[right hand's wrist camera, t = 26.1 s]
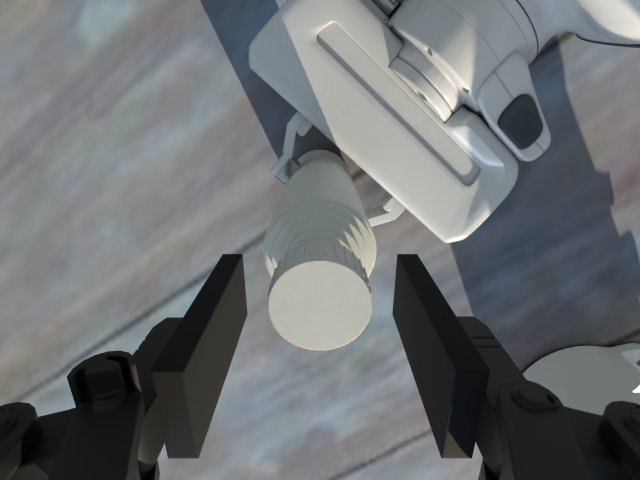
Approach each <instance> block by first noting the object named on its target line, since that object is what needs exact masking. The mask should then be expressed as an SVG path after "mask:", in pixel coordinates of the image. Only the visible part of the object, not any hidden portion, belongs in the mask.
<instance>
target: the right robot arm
mask: <svg viewBox="0 0 640 480" xmlns="http://www.w3.org/2000/svg"><path fill="white" fill-rule="evenodd" d="M246 317H247V303H246V291H245V279H244V268H243V256H242V254H223V255H222V257H221V258H220V260H219V262H218V263H217V265H216V266H215V268H214V270H213V271H212V273H211V274H210V276H209V277H208V279H207V281H206V282H205V284H204V285H203V287H202V289H201V290H200V292H199V293H198V295H197V297H196V298H195V300H194V301H193V303H192V304H191V306H190V308H189V309H188V311H187V312H186V314H185V316H184V317H183V318H166V319H164V320H163V321H161V322H160V323H158V324H157V325H156V326H154V327H153V328H152V330H151V331H150V332H149V334H148V335H147V336H146V338H145V340H144V341H143V342H142V343H141V345H140V346H139V349H138V350H136V351H135V353H134V354H133V356H132V355H131V354H130V353H128V352H123V351H109V352H105V353H101V354H97V355H95V356H92V357H90V358H88V359H86V360H84V361H82V362H81V363H80V364H78V365H77V366H76V367H74V368H73V369H72V371H71V372H70V373H69V375H68V376H67V379H68V382H69V385H70V389H71V392H72V395H73V398H74V401H75V404H76V408H73V409H70V410H66V411H61V412H57V413H53V414H49V415H44V416H40V417H38V415H37V413H36V410H35V408H34V407H33V406H32V405H30V404H29V403H22V402H17V403H11V404H5V405H2V406H0V480H159V475H160V472H159V465H158V461H157V458H158V456H159V454H160V452H161V450H162V447H163V445H164V443H165V446H166V450H167V455H168V458H199V455H200V452H201V449H202V446H203V443H204V440H205V437H206V434H207V432H208V429H209V426H210V423H211V420H212V417H213V414H214V411H215V408H216V405H217V402H218V399H219V396H220V393H221V390H222V387H223V384H224V381H225V379H226V376H227V373H228V370H229V367H230V364H231V361H232V358H233V355H234V352H235V349H236V346H237V343H238V340H239V337H240V334H241V331H242V328H243V326H244V323H245V320H246ZM393 317H394V320H395V323H396V326H397V328H398V331H399V334H400V337H401V340H402V343H403V346H404V349H405V352H406V355H407V358H408V361H409V364H410V367H411V370H412V373H413V376H414V379H415V381H416V384H417V387H418V390H419V393H420V396H421V399H422V402H423V405H424V408H425V411H426V414H427V417H428V420H429V423H430V426H431V429H432V432H433V434H434V437H435V440H436V443H437V446H438V449H439V452H440V455H441V458H472V455H473V450H474V446H475V441H476V443H477V446H478V448H479V450H480V452H481V454H482V456H483V461H482V465H481V470H480V474H479V479H478V480H640V404H637V403H633V402H627V401H614V402H611V403H609V404H608V405H607V406H606V407H605V410H604V413H603V415H598V414H594V413H589V412H585V411H581V410H577V409H572V408H569V407H566V406H563V404H562V402H561V401H560V399H559V398H558V397H557V396H556V395H555V394H554V393H552V392H551V391H550V390H549V389H547V388H545V387H543V386H542V385H540V384H538V383H535V382H532V381H529V380H526V378H525V377H524V376H523V374H522V373H521V371H520V370H519V369H518V367H517V366H516V365H515V363H514V362H513V361H512V359H511V358H510V357H509V355H508V354H507V353H506V351H505V350H504V348H502V346H501V344H500V343H499V342H498V340H497V339H495V336H494V335H493V334H492V332H491V331H490V330H489V328H488V327H487V326H486V325H485V324H483V323H482V322H480V321H479V320H478V319H476V318H475V317H456V316H455V314H454V312H453V311H452V309H451V308H450V306H449V304H448V303H447V301H446V300H445V298H444V297H443V295H442V293H441V292H440V290H439V289H438V287H437V285H436V284H435V282H434V281H433V279H432V277H431V276H430V274H429V273H428V271H427V270H426V268H425V266H424V265H423V263H422V262H421V260H420V258H419V257H418V255H417V254H398V256H397V268H396V279H395V291H394V303H393Z"/></svg>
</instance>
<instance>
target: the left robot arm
mask: <svg viewBox="0 0 640 480" xmlns="http://www.w3.org/2000/svg"><path fill="white" fill-rule="evenodd" d="M388 16H389V20H388V21H387V22H386V23H385V24H384V22H385V21H386V19H387V18H388ZM565 31H569V32H574V33H575V34H576V36H577V37H578V38H580V39H582V40H585V41H588V42H593V43H599V44H606V45H613V46H623V47H633V48H640V0H404V1H403V2H401V3H400V2H399V1H398V0H287V1H286V3H285V4H284V5H283V6H282V7H281V8H280V9H279V10H278V11H277V12H276V13H275V14H274V15H273V16H272V17H271V19H270V20H269V21H268V22H267V23H266V24H265V25H264V27H263V28H262V29H261V30H260V32H259V33H258V34H257V35H256V37H255V38H254V39H253V41H252V42H251V44H250V46H249V65H250V68H251V69H252V70H253V71H254V72H255V73H256V74H257V75H259V76H260V77H261V78H262V79H263V80H264V81H265V82H266V83H267V84H269V85H270V86H271V87H272V88H273V89H274V90H275V91H276V92H277V93H279V94H280V95H281V96H282V97H283V98H284V99H285V100H286V101H287V102H289V103H290V104H291V105H292V106H293V107H294V108H295V109H296V110H297V112H296V114H295V115H294V116H293V117H292V119H291V120H290V121H289V122H288V124H287V128H286V134H285V141H284V148H283V153H284V154H283V155H282V156H281V157H280V159H279V160H278V161H277V162H276V164H275V165H274V166H273V167H272V169H271V170H270V173H271V174H273V175H274V176H275V177H276V178H278V179H279V180H280V181H281V182H283V183H284V184H286V183H287V182H288V180H289V179H290V177H291V175H292V174H294V173H295V172H296V171H297V170H298V168H299V167H300V164H301V163H300V162H299V161H298V160H297V159H295V158H294V157H293V153H294V147H295V141H296V135H297V133H298V134H299V135H300V136H304V135H305V134H306V133H307V132H308V130H309V129H310V128H311V127H312V126H313V125H314V126H315V127H316V128H318V129H319V130H320V131H321V132H322V133H323V134H324V135H325V136H326V137H328V138H329V139H330V140H331V141H332V142H333V143H334V144H335V145H336V146H338V147H339V148H340V149H341V150H342V151H343V152H344V153H345V154H346V155H348V156H349V157H350V158H351V159H352V160H353V161H354V162H355V163H356V164H358V165H359V166H360V167H361V168H362V169H363V170H364V171H365V172H366V173H368V174H369V175H370V176H371V177H372V178H373V179H374V180H375V181H376V182H378V183H379V184H380V185H381V186H382V187H383V188H384V189H385V190H386V191H387V192H386V193H385V194H384V195H383V196H382V197H381V198H380V199H379V202H380V204H381V205H382V206H381V207H378V208H375V209H372V210H369V211H366V212H365V214H366V216H367V219H368V221H369V223H370V226H371V227H372V226H375V225H378V224H382V223H385V222H388V221H392V220H395V219H396V218H397V217H398V216H399V215H400V214H401V213H402V212H403V211H404V210H405V209H408V210H409V211H410V212H411V213H412V214H413V215H414V216H415V217H416V218H418V219H419V220H420V221H421V222H422V223H423V224H424V225H425V226H426V227H428V228H429V229H430V230H431V231H432V232H433V233H434V234H435V235H436V236H438V237H439V238H440V239H441V240H442V241H443V242H445V243H451V242H456V241H461V240H463V239H465V238H466V237H468V236H469V235H470V234H471V233H472V232H473V231H474V230H476V229H477V228H478V227H479V226H480V225H481V224H482V223H483V222H484V221H485V220H486V219H487V218H488V217H489V216H490V215H491V213H492V212H493V211H494V210H495V209H496V208H497V207H498V206H499V205H500V204H501V202H502V201H503V200H504V199H505V198H506V197H507V195H508V194H509V193H510V191H511V190H512V188H513V187H514V185H515V183H516V180H517V177H518V163H517V160H521V161H528V162H529V161H533V160H535V159H536V158H538V157H539V156H540V155H541V154H543V152H545V151H546V150H547V148H548V147H549V145H550V143H551V135H550V132H549V129H548V126H547V123H546V121H545V118H544V115H543V113H542V110H541V107H540V104H539V102H538V99H537V96H536V93H535V90H534V86H533V83H532V79H531V75H530V71H529V68H528V65H529V64H530V63H531V62H532V61H533V60H534V59H535V58H536V56H537V55H538V53H539V52H540V50H541V49H542V48H543V46H544V45H545V44H546V42H547V41H548V40H549V39H551V38H552V37H553V36H555V35H557V34H559V33H562V32H565ZM523 376H524V377H525V378H526V380H529V381H532V382H535V383H538V384H540V385H542V386H543V387H545V388H547V389H549V390H550V391H551V392H552V393H554V394H555V395H556V396H557V397H558V398H559V399H560V401H561V402H562V404H563V406H566V407H569V408H572V409H577V410H581V411H585V412H589V413H594V414H598V415H603V413H604V410H605V407H606V406H607V405H608V404H609V403H611V402H614V401H627V402H633V403H637V404H640V344H638V343H629V344H623V345H619V346H614V347H599V346H576V347H570V348H566V349H562V350H559V351H556V352H554V353H552V354H549V355H547V356H545V357H543V358H542V359H540V360H538V361H537V362H535V363H534V364H533V365H531V366H530V367H529V368H528V369H527V370H526V371H525V372H524V373H523Z"/></svg>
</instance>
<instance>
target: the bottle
mask: <svg viewBox="0 0 640 480" xmlns="http://www.w3.org/2000/svg"><path fill="white" fill-rule="evenodd" d="M298 161H299V162H300V163H301V164H300V167H299V168H298V170H297V171H296V172H295V173H294V174H292V175H291V177H290V179H289V180H288V182H287V183H286V186H285V188H284V191H283V193H282V196H281V198H280V201H279V203H278V206H277V208H276V211H275V213H274V216H273V218H272V221H271V223H270V226H269V228H268V230H267V233H266V236H265V240H264V250H263V252H264V260H265V264H266V267H267V269H268V272H269V273H270V275H271V277H272V276H273V272H274V269H275V268H277V265H278V261H279V259H280V260H281V259H282V258H283V256H284V255H285V253H286V252H288V251H290V250H291V249H293V247H294V246H295V247H296V246H298V245H300V244H303V242H305V243H306V242H310V241H313V240H315V241H324V240H326V241H330V242H337V244H340V245H342V246H346V248H347V249H349V250H350V251H351V252H354V253H355V255H356V257H357V258H358V259H360V260H361V263H362V266H363V268H364V267H365V270H366V273H367V277H368V276H369V275H370V273H371V271H372V269H373V266H374V263H375V259H376V241H375V237H374V233H373V231H372V228H371V226H370V223H369V221H368V219H367V216H366V214H365V211H364V209H363V206H362V204H361V201H360V199H359V196H358V194H357V191H356V189H355V186H354V184H353V181H352V179H351V176H350V174H349V171H348V169H347V166H346V164H345V163H344V161H343V160H342V159H341V158H340V157H339V156H338V155H336V154H335V153H333V152H330V151H327V150H321V149H320V150H312V151H309V152H307V153H305V154H304V155H302V156H301V157H300V158H299V159H298Z"/></svg>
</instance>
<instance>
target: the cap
mask: <svg viewBox="0 0 640 480" xmlns="http://www.w3.org/2000/svg"><path fill="white" fill-rule="evenodd" d="M371 295H372V292H371V288H370V284H369V281H368V277H367V273H366V270H365V267H364V268H363V266H362V263H361V260H360V259H358V258H357V257H356V255H355V253H354V252H351V251H350V250H349V249H347V248H346V246H342V245H340V244H337V242H330V241H326V240H324V241H315V240H313V241H310V242H306V243H305V242H303V244H300V245H298V246H296V247H295V246H294V247H293V249H291V250H290V251H288V252H286V253H285V255H284V256H283V258H282V259H281V260H280V259H279V261H278V265H277V268H275V269H274V272H273V276H272V280H271V284H270V288H269V291H268V296H269V297H268V312H269V316H270V319H271V322H272V324H273V325H274V327H275V329H276V330H277V331H278V332H279V333H280V335H281V336H282V337H284V338H285V339H286V340H288V341H289V342H291V343H292V344H295V345H297V346H299V347H302V348H306V349H310V350H330V349H334V348H338V347H341V346H343V345H345V344H347V343H349V342H351V341H352V340H354V339H355V338H356V337H357V336H358V335H359V334H360V333H361V332H362V331H363V330H364V328H365V327H366V325H367V323H368V321H369V319H370V316H371V311H372V298H371Z"/></svg>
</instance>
